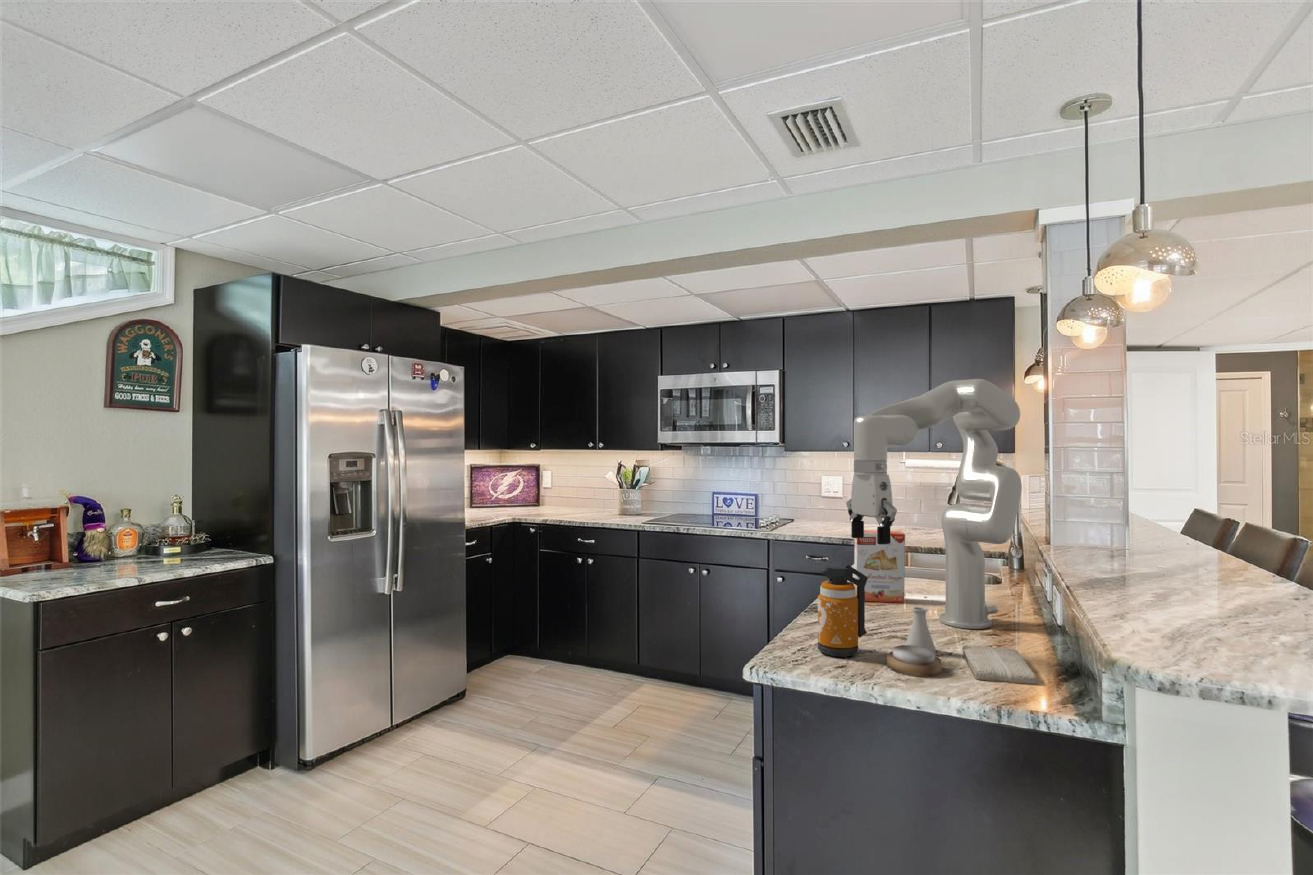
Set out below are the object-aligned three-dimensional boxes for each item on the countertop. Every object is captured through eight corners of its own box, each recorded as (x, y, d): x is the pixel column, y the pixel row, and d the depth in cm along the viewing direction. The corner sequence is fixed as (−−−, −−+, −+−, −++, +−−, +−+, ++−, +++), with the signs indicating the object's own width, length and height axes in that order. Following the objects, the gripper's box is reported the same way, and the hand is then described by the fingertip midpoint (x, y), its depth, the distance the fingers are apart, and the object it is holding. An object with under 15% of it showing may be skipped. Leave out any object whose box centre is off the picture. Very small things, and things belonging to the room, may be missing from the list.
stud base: (915, 656, 152) (915, 641, 152) (953, 672, 142) (953, 656, 142) (875, 662, 148) (875, 646, 148) (911, 679, 138) (911, 662, 138)
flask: (939, 657, 151) (939, 613, 151) (905, 655, 153) (905, 611, 153) (933, 647, 158) (933, 605, 158) (900, 645, 160) (900, 603, 160)
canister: (814, 646, 160) (814, 561, 159) (861, 646, 159) (861, 562, 159) (822, 658, 151) (822, 569, 150) (872, 659, 150) (872, 569, 150)
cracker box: (856, 601, 201) (856, 531, 201) (853, 596, 207) (853, 529, 207) (905, 603, 199) (905, 533, 199) (901, 598, 205) (901, 530, 205)
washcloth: (1015, 658, 152) (1015, 645, 152) (1039, 688, 134) (1039, 672, 134) (958, 654, 155) (958, 641, 155) (975, 682, 137) (975, 667, 137)
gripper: (908, 469, 152) (908, 545, 152) (861, 466, 168) (861, 534, 168) (880, 470, 149) (880, 547, 149) (835, 466, 165) (835, 536, 166)
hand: (870, 540), depth 159 cm, fingers open, 9 cm apart
